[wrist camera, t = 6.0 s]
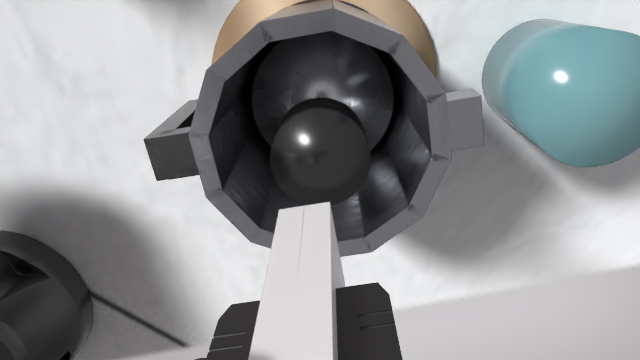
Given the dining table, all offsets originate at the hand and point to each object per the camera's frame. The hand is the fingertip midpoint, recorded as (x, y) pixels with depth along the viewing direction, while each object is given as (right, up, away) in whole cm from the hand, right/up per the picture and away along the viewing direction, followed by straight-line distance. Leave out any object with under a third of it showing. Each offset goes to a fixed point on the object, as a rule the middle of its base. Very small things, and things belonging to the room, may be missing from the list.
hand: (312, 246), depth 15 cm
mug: (+17, +10, +23) cm, 30 cm away
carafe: (0, +9, +23) cm, 24 cm away
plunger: (0, +7, +18) cm, 19 cm away
